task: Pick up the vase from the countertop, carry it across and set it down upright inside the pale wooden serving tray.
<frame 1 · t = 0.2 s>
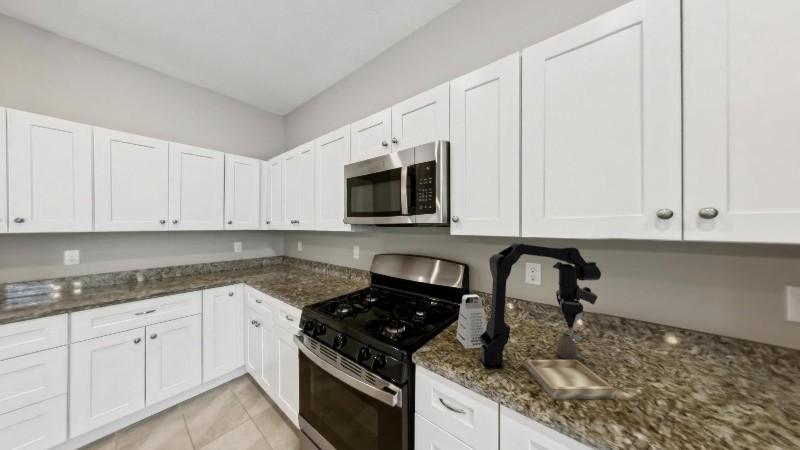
hand: (568, 323, 94), 14 cm above the counter, tool pointing down, fingers open, 9 cm apart
tray: (565, 382, 82), on the counter
grater: (472, 342, 111), on the counter
vase: (566, 358, 97), on the counter
wine glass: (572, 337, 115), on the counter
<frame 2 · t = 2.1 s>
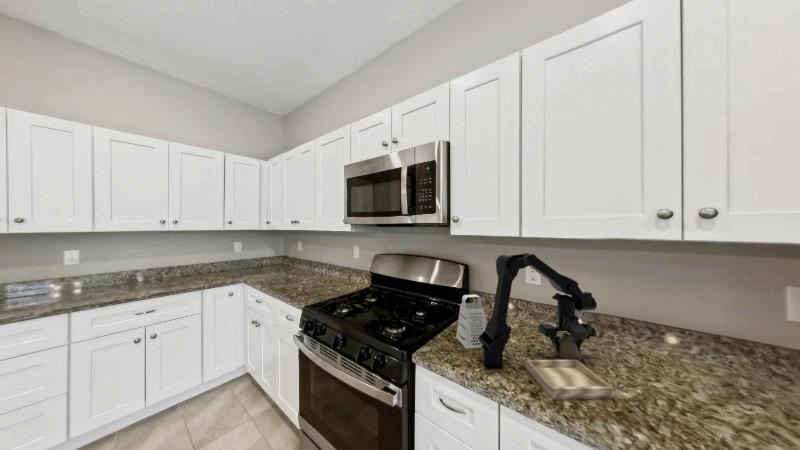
hand: (566, 352, 97), 2 cm above the counter, tool pointing down, fingers closed on vase, 7 cm apart
vase: (566, 358, 97), on the counter, touching gripper
everything else where it was.
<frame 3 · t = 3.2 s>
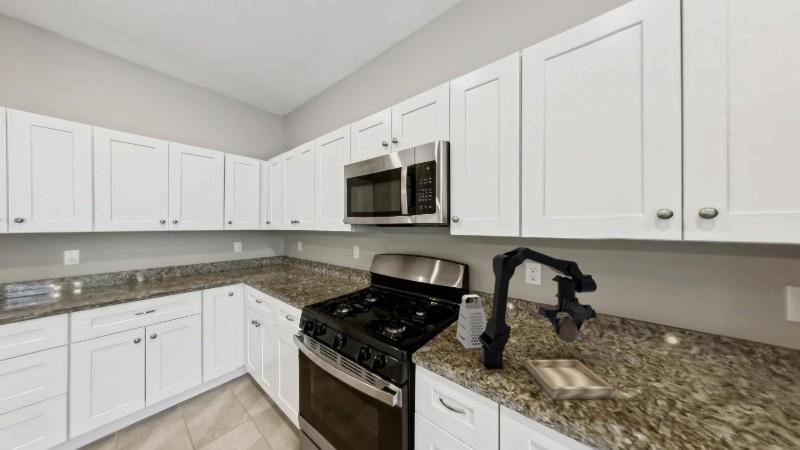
hand: (566, 334, 97), 9 cm above the counter, tool pointing down, fingers closed on vase, 7 cm apart
vase: (566, 340, 97), point 6 cm above the counter, touching gripper
everything else where it was.
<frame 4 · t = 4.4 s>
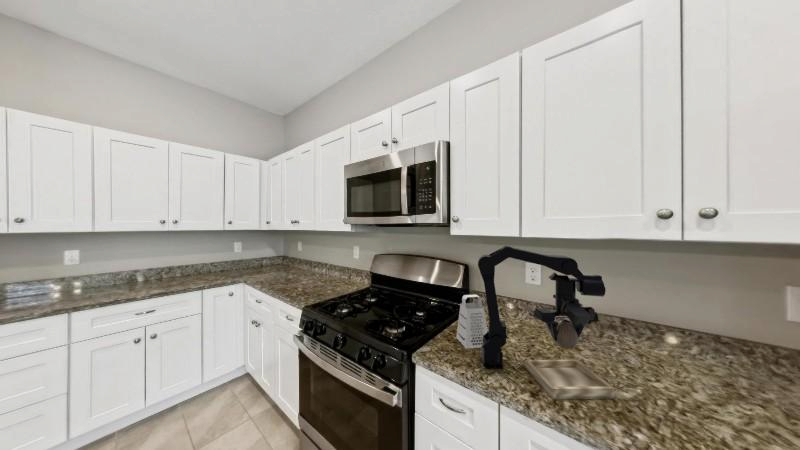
hand: (565, 340, 86), 12 cm above the counter, tool pointing down, fingers closed on vase, 7 cm apart
vase: (564, 347, 86), point 9 cm above the counter, touching gripper
everything else where it was.
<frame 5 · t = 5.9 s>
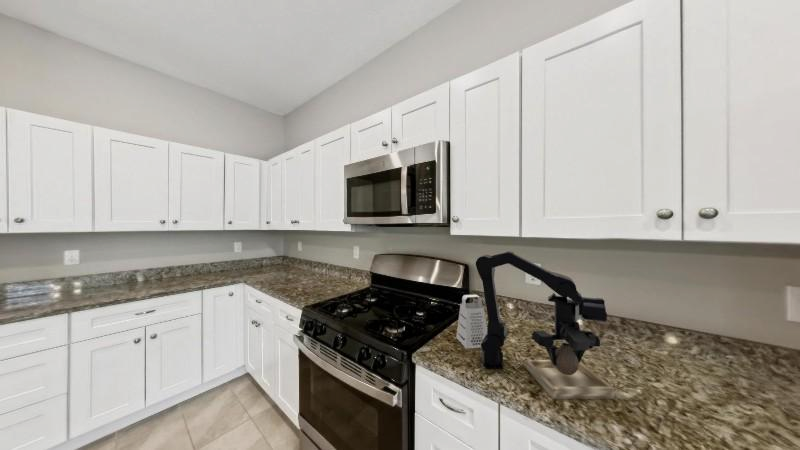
hand: (565, 364, 82), 6 cm above the counter, tool pointing down, fingers closed on vase, 7 cm apart
vase: (564, 372, 82), point 3 cm above the counter, touching gripper
everything else where it was.
when the fingers open (4 cm above the counter, at t = 7.1 s): vase drops 1 cm, resting on tray.
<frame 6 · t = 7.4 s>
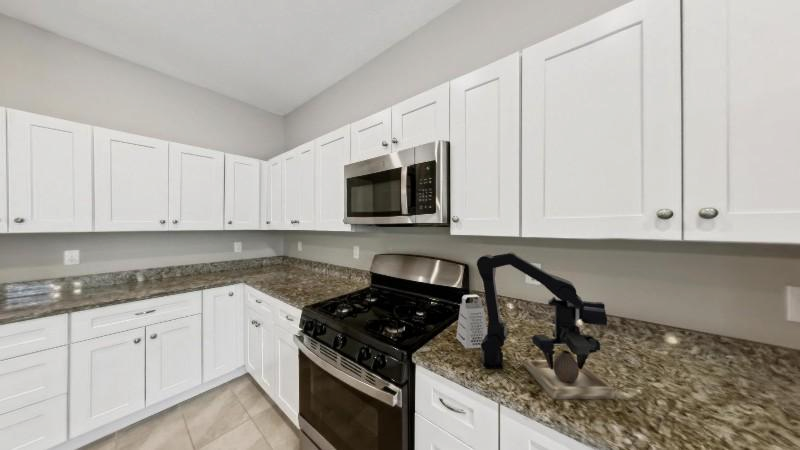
hand: (565, 368, 82), 4 cm above the counter, tool pointing down, fingers open, 9 cm apart
vase: (565, 379, 82), point 1 cm above the counter, touching tray
everything else where it was.
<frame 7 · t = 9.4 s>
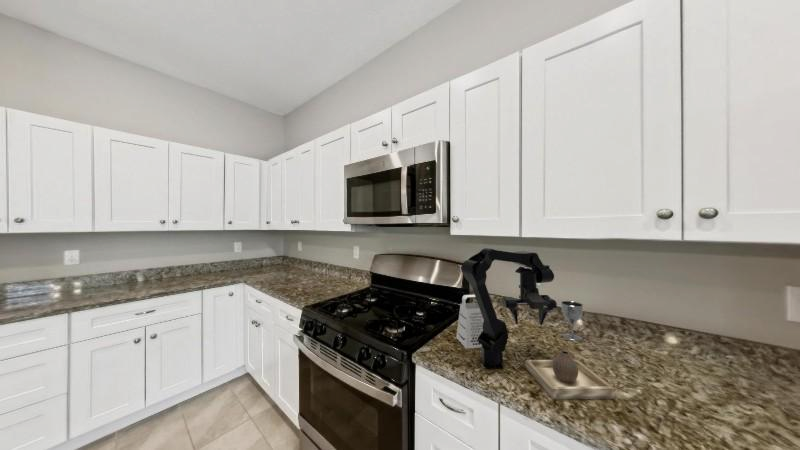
hand: (528, 324, 99), 12 cm above the counter, tool pointing down, fingers open, 9 cm apart
nothing on the counter moved.
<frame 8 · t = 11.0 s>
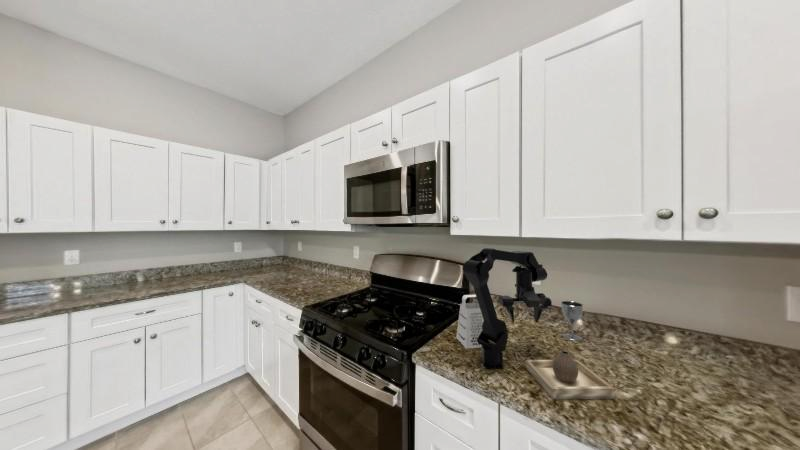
hand: (524, 322, 101), 12 cm above the counter, tool pointing down, fingers open, 9 cm apart
nothing on the counter moved.
at the end: vase inside the target area on the tray (0.2 cm from its centre), point 0.6 cm above the tray's base; vase tilted 0°; the gripper is holding nothing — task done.
